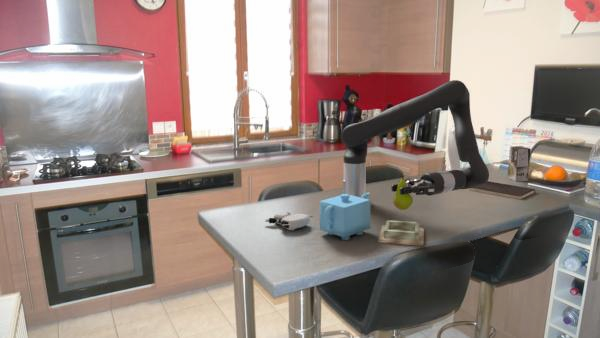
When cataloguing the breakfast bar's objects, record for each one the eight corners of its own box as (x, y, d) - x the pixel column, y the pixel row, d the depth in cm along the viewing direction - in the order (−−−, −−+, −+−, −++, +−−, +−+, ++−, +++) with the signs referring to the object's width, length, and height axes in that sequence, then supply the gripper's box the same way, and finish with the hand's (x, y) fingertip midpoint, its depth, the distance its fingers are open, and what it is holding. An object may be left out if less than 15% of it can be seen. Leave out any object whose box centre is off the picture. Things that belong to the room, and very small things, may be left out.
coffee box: (528, 181, 220) (531, 148, 216) (515, 181, 220) (517, 149, 217) (519, 177, 229) (522, 145, 225) (507, 177, 229) (509, 146, 226)
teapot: (338, 245, 144) (338, 203, 141) (314, 236, 152) (313, 197, 149) (381, 228, 158) (382, 190, 155) (357, 221, 166) (357, 185, 163)
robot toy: (263, 228, 164) (291, 235, 153) (262, 216, 163) (290, 222, 152) (287, 220, 172) (316, 226, 162) (286, 208, 171) (315, 213, 161)
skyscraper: (449, 178, 230) (452, 124, 224) (464, 181, 224) (468, 125, 218) (441, 181, 225) (443, 125, 219) (456, 184, 219) (459, 126, 213)
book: (519, 201, 189) (520, 195, 189) (468, 191, 206) (468, 186, 206) (535, 193, 200) (535, 188, 199) (484, 185, 216) (485, 180, 216)
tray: (378, 242, 145) (378, 231, 145) (382, 227, 158) (382, 218, 158) (423, 245, 141) (423, 235, 141) (423, 230, 155) (424, 221, 154)
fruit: (413, 212, 144) (413, 175, 142) (393, 211, 146) (393, 175, 143) (412, 206, 151) (412, 171, 148) (393, 206, 152) (393, 171, 149)
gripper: (423, 168, 158) (383, 174, 151) (453, 176, 145) (410, 183, 138) (423, 189, 159) (383, 196, 152) (452, 198, 147) (410, 206, 140)
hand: (396, 189), depth 145 cm, fingers closed on fruit, 4 cm apart
